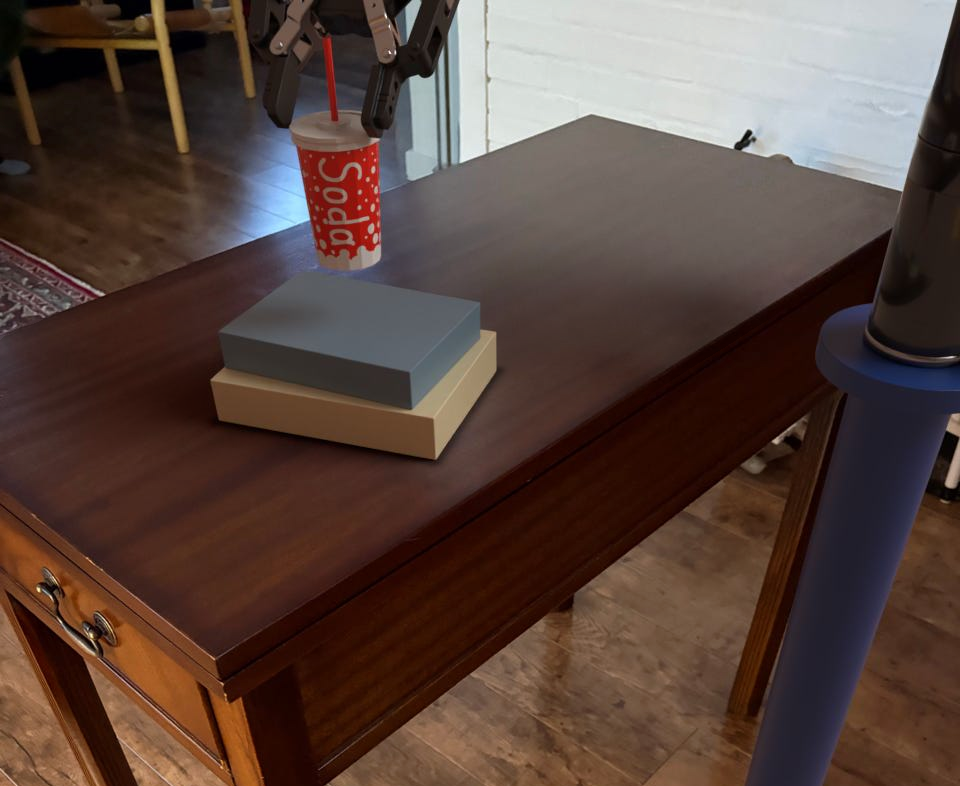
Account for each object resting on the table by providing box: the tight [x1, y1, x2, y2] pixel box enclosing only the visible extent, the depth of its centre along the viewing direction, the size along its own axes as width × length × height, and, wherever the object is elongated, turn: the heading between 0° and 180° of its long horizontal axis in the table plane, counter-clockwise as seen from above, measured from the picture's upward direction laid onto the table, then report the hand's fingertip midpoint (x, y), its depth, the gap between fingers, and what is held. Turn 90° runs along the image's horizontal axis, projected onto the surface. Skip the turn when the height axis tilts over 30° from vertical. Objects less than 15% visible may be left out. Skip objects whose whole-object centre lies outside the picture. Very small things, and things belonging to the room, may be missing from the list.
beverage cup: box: [288, 37, 382, 272], centre depth 68 cm, size 6×6×14 cm
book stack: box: [209, 269, 497, 461], centre depth 78 cm, size 18×14×6 cm
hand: (323, 126), depth 65 cm, fingers closed on beverage cup, 6 cm apart
